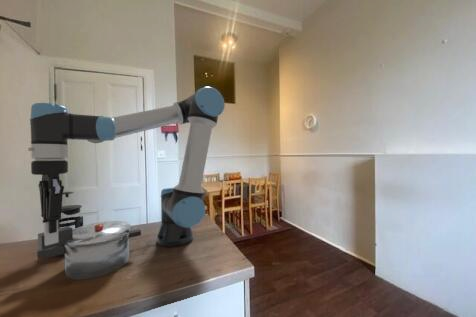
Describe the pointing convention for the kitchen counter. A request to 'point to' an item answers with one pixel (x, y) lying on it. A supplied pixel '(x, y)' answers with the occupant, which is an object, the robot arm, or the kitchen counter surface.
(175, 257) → the kitchen counter surface
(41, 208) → the robot arm
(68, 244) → the lid
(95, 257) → the pressure cooker pot
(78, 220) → the french press
